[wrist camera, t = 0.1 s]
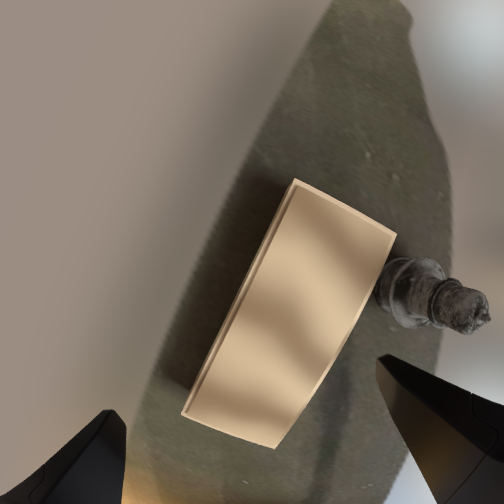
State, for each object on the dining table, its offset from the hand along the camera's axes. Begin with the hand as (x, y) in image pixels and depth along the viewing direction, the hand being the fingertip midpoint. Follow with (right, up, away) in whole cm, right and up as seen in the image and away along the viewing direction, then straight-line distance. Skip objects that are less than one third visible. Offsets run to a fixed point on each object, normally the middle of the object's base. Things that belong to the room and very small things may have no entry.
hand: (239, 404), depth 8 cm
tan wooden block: (+3, -1, +15) cm, 16 cm away
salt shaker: (+14, +2, +16) cm, 21 cm away
